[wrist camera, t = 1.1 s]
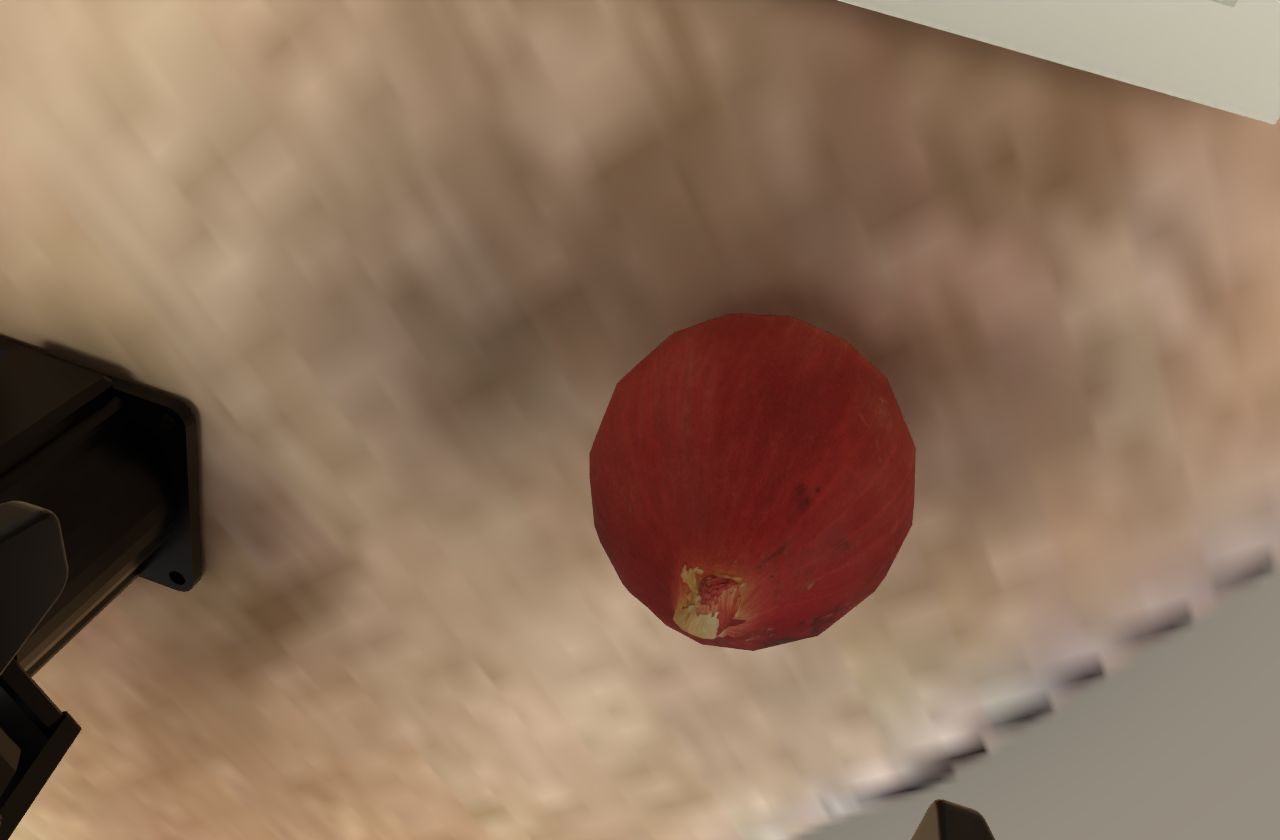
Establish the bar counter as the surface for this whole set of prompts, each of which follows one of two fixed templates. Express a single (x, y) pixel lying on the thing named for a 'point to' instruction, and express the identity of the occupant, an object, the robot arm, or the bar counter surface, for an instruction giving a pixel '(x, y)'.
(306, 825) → the bar counter surface
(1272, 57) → the tray
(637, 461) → the onion
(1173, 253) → the bar counter surface
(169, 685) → the bar counter surface
